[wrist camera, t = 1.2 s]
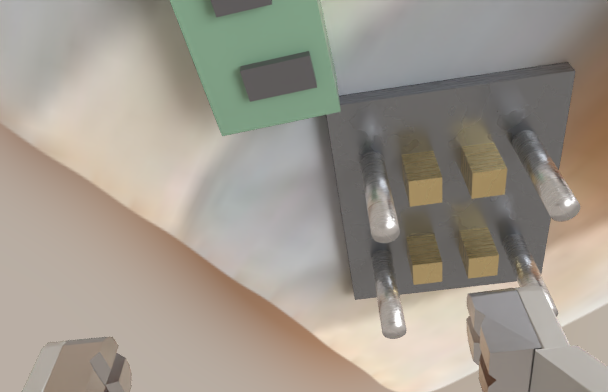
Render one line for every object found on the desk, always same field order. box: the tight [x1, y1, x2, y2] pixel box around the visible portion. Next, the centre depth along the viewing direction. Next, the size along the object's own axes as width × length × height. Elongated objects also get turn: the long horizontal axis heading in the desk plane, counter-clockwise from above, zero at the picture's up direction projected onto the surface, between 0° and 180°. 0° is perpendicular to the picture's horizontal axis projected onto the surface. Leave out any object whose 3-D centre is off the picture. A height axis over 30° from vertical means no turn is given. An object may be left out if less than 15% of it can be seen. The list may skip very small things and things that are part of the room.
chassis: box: [326, 62, 580, 339], centre depth 32 cm, size 16×13×7 cm
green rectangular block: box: [170, 0, 341, 136], centre depth 25 cm, size 10×6×5 cm, turn 13°
